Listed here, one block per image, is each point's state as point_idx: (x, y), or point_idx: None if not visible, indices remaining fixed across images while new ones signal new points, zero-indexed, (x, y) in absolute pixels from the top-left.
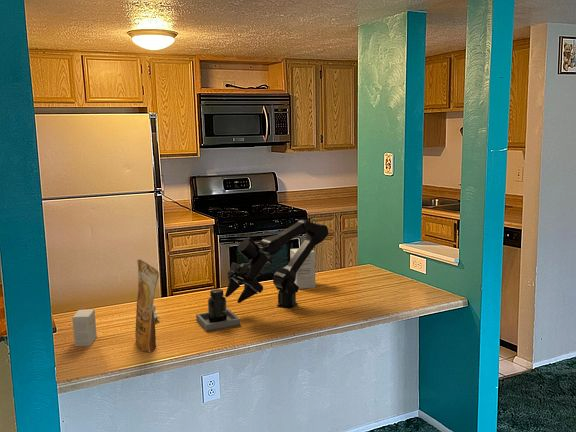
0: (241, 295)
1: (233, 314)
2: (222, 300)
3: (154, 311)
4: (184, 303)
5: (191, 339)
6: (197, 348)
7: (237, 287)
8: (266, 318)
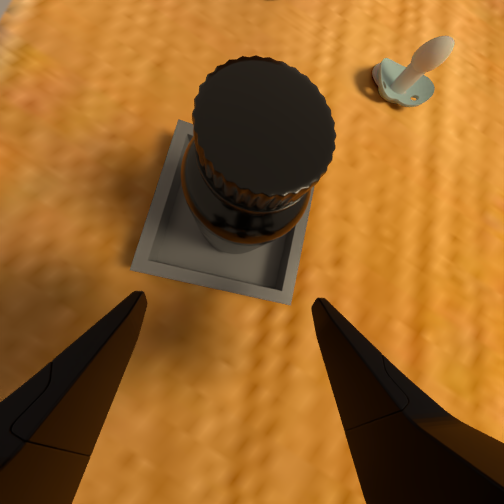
0: (80, 343)
1: (208, 280)
2: (184, 177)
3: (414, 63)
4: (469, 246)
5: (156, 63)
6: (60, 22)
7: (356, 452)
8: (129, 412)
